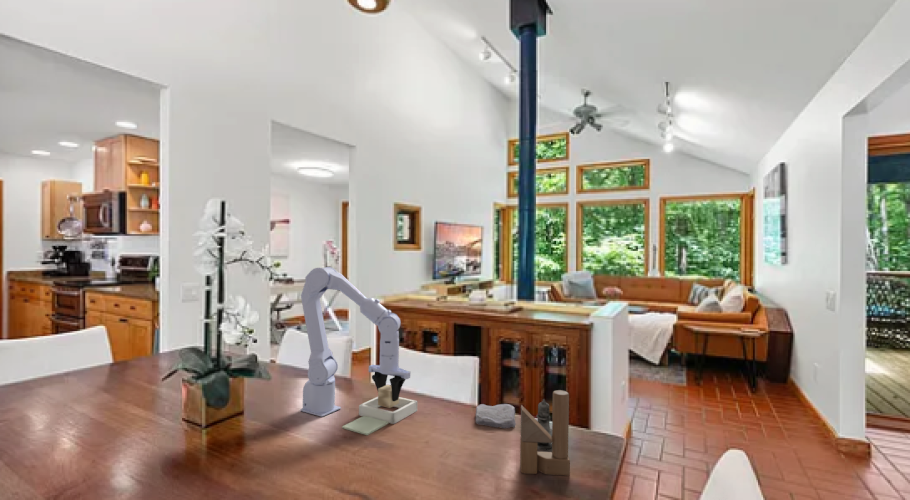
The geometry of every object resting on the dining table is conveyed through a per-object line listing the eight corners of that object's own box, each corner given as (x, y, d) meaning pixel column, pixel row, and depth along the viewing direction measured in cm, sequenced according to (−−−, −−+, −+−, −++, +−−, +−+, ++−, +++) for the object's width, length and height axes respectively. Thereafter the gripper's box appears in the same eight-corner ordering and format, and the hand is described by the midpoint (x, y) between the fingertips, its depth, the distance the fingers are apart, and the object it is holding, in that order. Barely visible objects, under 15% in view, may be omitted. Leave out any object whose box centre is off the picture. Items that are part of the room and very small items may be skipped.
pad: (342, 428, 117) (342, 426, 117) (364, 417, 125) (364, 415, 125) (367, 435, 113) (367, 433, 113) (388, 423, 121) (388, 421, 121)
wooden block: (520, 465, 98) (520, 388, 98) (567, 468, 97) (568, 389, 97) (521, 474, 94) (522, 393, 94) (570, 476, 93) (571, 395, 93)
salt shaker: (541, 452, 104) (542, 404, 104) (527, 443, 110) (527, 396, 110) (559, 448, 107) (560, 400, 107) (544, 438, 112) (545, 393, 112)
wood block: (377, 405, 128) (378, 388, 128) (387, 400, 132) (387, 384, 132) (389, 407, 126) (390, 391, 126) (398, 403, 130) (399, 387, 130)
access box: (358, 415, 127) (359, 405, 127) (384, 402, 137) (384, 393, 137) (393, 424, 120) (393, 413, 121) (417, 410, 131) (417, 401, 131)
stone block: (517, 435, 119) (514, 415, 128) (516, 420, 118) (514, 400, 128) (474, 435, 120) (475, 414, 129) (474, 419, 119) (475, 400, 129)
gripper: (416, 354, 129) (415, 399, 129) (379, 348, 136) (378, 391, 136) (402, 359, 123) (401, 406, 123) (364, 353, 130) (363, 397, 130)
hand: (388, 398), depth 129 cm, fingers closed on wood block, 4 cm apart
